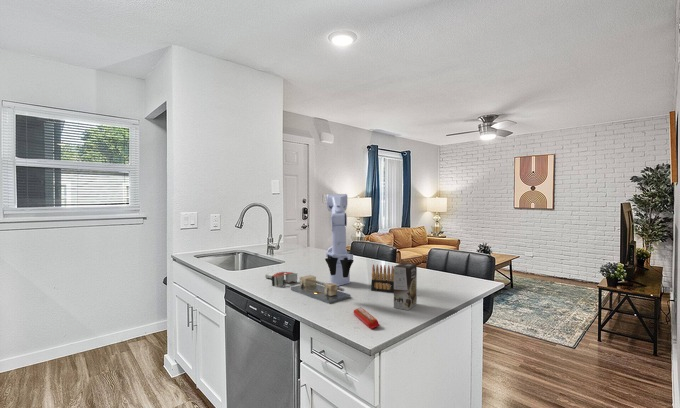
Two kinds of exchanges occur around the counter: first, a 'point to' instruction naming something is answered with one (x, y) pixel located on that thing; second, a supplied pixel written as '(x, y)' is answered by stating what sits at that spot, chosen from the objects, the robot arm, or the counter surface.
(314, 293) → the bolt plate
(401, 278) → the coffee box
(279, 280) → the tape dispenser
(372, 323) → the candy bar
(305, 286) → the trammel beam
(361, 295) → the counter surface
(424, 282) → the counter surface
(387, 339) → the counter surface
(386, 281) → the ammunition clip
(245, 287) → the counter surface
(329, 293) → the trammel slider
